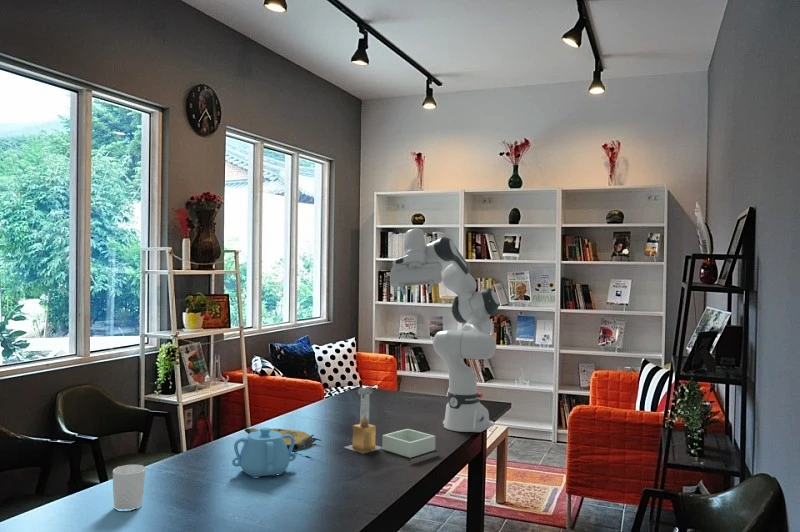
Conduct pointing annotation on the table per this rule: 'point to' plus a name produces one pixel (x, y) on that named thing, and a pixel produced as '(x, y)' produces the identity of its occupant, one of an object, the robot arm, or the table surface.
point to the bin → (408, 443)
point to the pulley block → (300, 438)
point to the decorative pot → (264, 453)
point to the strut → (364, 424)
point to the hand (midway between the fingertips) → (416, 293)
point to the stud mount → (365, 450)
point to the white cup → (128, 486)
